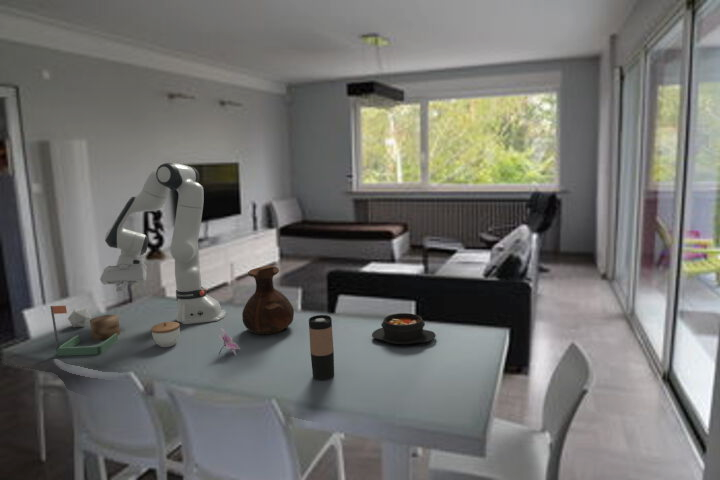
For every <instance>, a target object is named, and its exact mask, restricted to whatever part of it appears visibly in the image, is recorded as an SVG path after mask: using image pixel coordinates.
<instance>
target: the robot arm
mask: <svg viewBox="0 0 720 480" xmlns="http://www.w3.org/2000/svg"><path fill="white" fill-rule="evenodd" d="M199 182H200V173H199V171H198V169H196V168H195V167H194V166H191V165H186V164H182V163H178V162H177V163H175V162H165V163H162V164H160V165H159V166H158V167H157V168H156V169H154V170H152V171H151V172H150V174H149V175H148V176H147V178H146V180H145V183H144V185H143V187H142V190H141V191H140V192H139V193H138V194H137V195H136V196H131V197H130V198H129V199H128V201H127V202H126V204H125V205H124V207H123V208H122V210H121V211H120V212H119V215H118V216H117V218H116V219H115V221H114V223H113V224H112V225H111V227H110V228H109V229H108V230H107V232H106V234H105V237H104V239H105V240H104V241H105V243H106V244H107V246H108V247H109V248H114V249H120V255H118V259H117V263H116V265H108V266H107V267H105V268H103V271H102V274H101V276H100V278H99V280H100V283H102V284H103V285H115V286H116V289H115V291H116V292H124V291H125V289H126V288H127V287H128V286H129V284H143V283H145V282H146V281H147V276H148V272H147V270H148V267H147V265H146V263H144V261H142V260H140V259H139V258H140V257H141V256H143V255H144V254H146V252H147V250H148V245H149V243H150V240H149V237H148V236H147V235H146V234H145V233H141V232H138V231H134V230H131V229H127V228H124V227H125V225H126V223H127V222H128V220H129V218H130V217H131V215H133V214H134V213H138V212H140V213H141V212H154V211H158V210H159V209H161V208H163V206H164V204H165V203H166V201H167V198H168V195H169V192H170V191H177V193H178V198H177V203H176V204H177V205H176V206H177V207H176V214H175V220H174V225H173V230H172V237H171V244H170V254H171V257H172V259H174V278H175V286H176V288H175V298H176V302H177V314H176V319H175V320H176V322H177V323H182V325H191V324H202V323H210V322H218V321H220V320H223V319H224V318H225V317H226V315H227V311H226V309H222V308H221V305H220V302H219V301H218V300H217V299H215V298H213V297H211V296H210V295H208V294H207V290H208V288H207V287H203V286H202V279H201V277H202V276H201V267H200V266H201V265H200V252H199V251H200V250H199V235H200V231H201V225H202V217H203V210H204V200H205V198H204V194H205V192H204V187H203V185H201V184H200V183H199Z"/></svg>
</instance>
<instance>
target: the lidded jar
mask: <svg viewBox="0 0 720 480" xmlns="http://www.w3.org/2000/svg"><path fill="white" fill-rule="evenodd" d="M180 326H181V325H180V322H178V321H164V322H161V323H160V322H159V323H156V324H155V325H153V326H152V327H150V328H151V329H150V330H151V335H152V339H153V341H154V342H155V344H156V345H158V346H159V348H168V347H169V348H170V347H172V346H175V345H176V343H177V342H178V340H179V338H180V334H181V333H180V332H181V330H180V329H181V328H180Z"/></svg>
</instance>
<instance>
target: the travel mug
mask: <svg viewBox="0 0 720 480" xmlns="http://www.w3.org/2000/svg"><path fill="white" fill-rule="evenodd" d="M332 323H333V321H332V317H331V316H330V315H327V314H318V315H313V316H311V317H309V318H308V330H309V331H308V332H309V348H310V351H309V352H310V358H311V359H310V361H311V371H312V378H313V379H314V380H316V381H320V382H321V381H329V380H332V379H333V378H334V377H335V353H334V352H335V351H334V349H335V348H334V335H333V324H332Z"/></svg>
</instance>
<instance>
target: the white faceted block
mask: <svg viewBox="0 0 720 480" xmlns="http://www.w3.org/2000/svg"><path fill="white" fill-rule="evenodd" d="M91 319H92V315H91V314H90V313H89V311H88V310H87V309H86V308H75V309H73V311H72V312H71V314H70V315H69V316H68V317H67V320H68V321H69V322H70V324H71V325H72V327H73V328H85V327H86V326H87V325H88V323H90V320H91Z"/></svg>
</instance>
